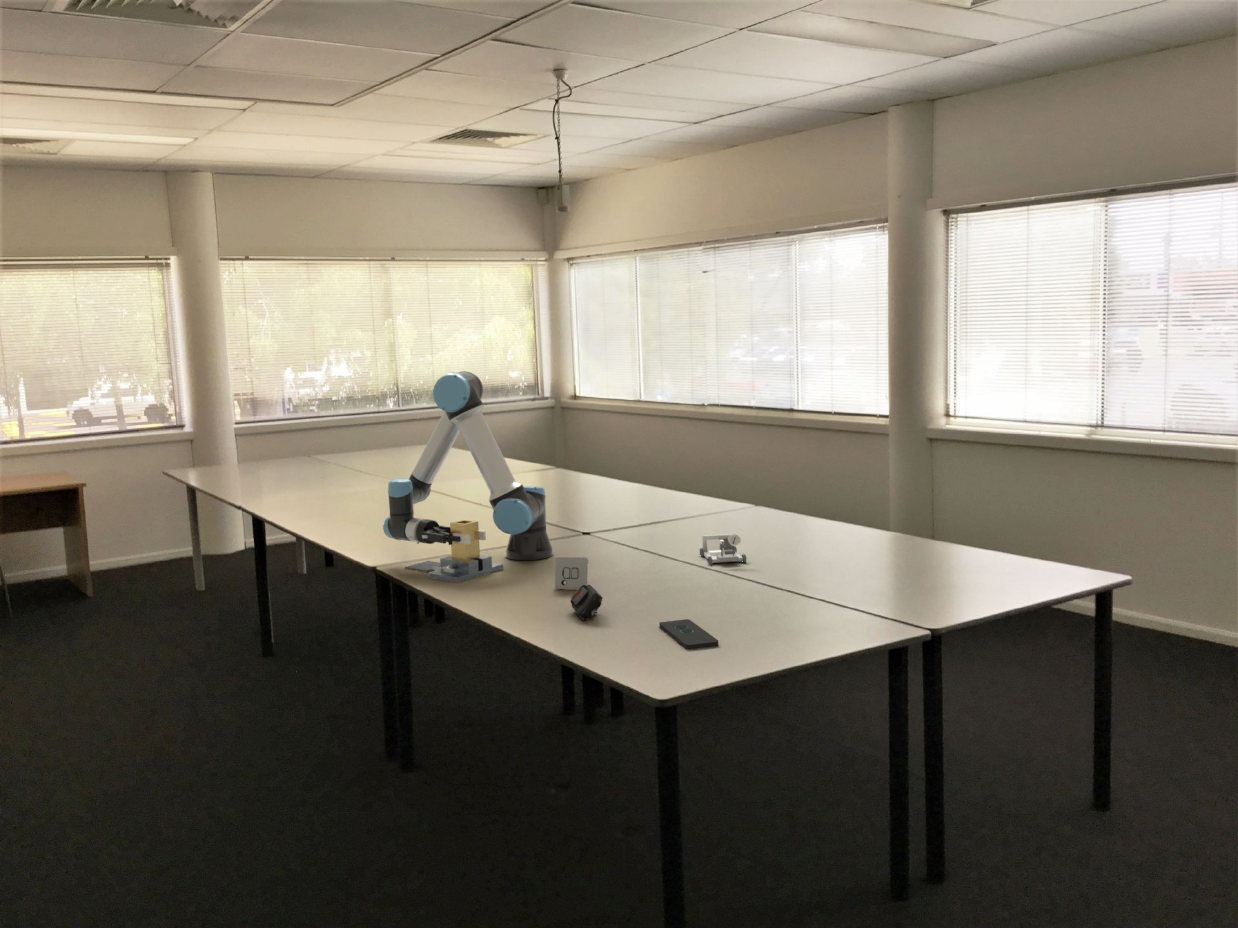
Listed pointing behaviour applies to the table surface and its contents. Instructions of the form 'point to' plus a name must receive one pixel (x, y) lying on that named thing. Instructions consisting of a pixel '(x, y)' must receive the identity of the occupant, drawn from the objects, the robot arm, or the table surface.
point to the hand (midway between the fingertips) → (477, 537)
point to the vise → (464, 568)
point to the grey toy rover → (721, 548)
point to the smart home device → (688, 634)
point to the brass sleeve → (465, 550)
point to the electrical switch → (571, 572)
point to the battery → (586, 601)
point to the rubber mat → (424, 566)
